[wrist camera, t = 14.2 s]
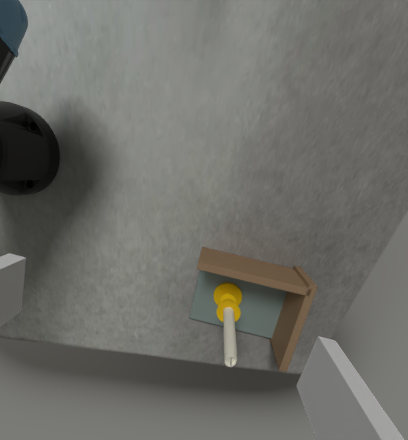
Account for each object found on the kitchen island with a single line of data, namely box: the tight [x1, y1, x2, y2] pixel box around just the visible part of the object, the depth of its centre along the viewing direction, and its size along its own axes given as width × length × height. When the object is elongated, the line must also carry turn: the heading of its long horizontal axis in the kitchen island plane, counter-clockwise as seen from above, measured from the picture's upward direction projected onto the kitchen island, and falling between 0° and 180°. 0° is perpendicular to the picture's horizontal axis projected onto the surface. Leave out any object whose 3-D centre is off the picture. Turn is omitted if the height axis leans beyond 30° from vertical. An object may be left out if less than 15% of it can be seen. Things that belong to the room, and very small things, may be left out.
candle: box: [213, 282, 242, 367], centre depth 33 cm, size 5×5×16 cm
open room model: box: [189, 247, 317, 372], centre depth 38 cm, size 18×15×7 cm
